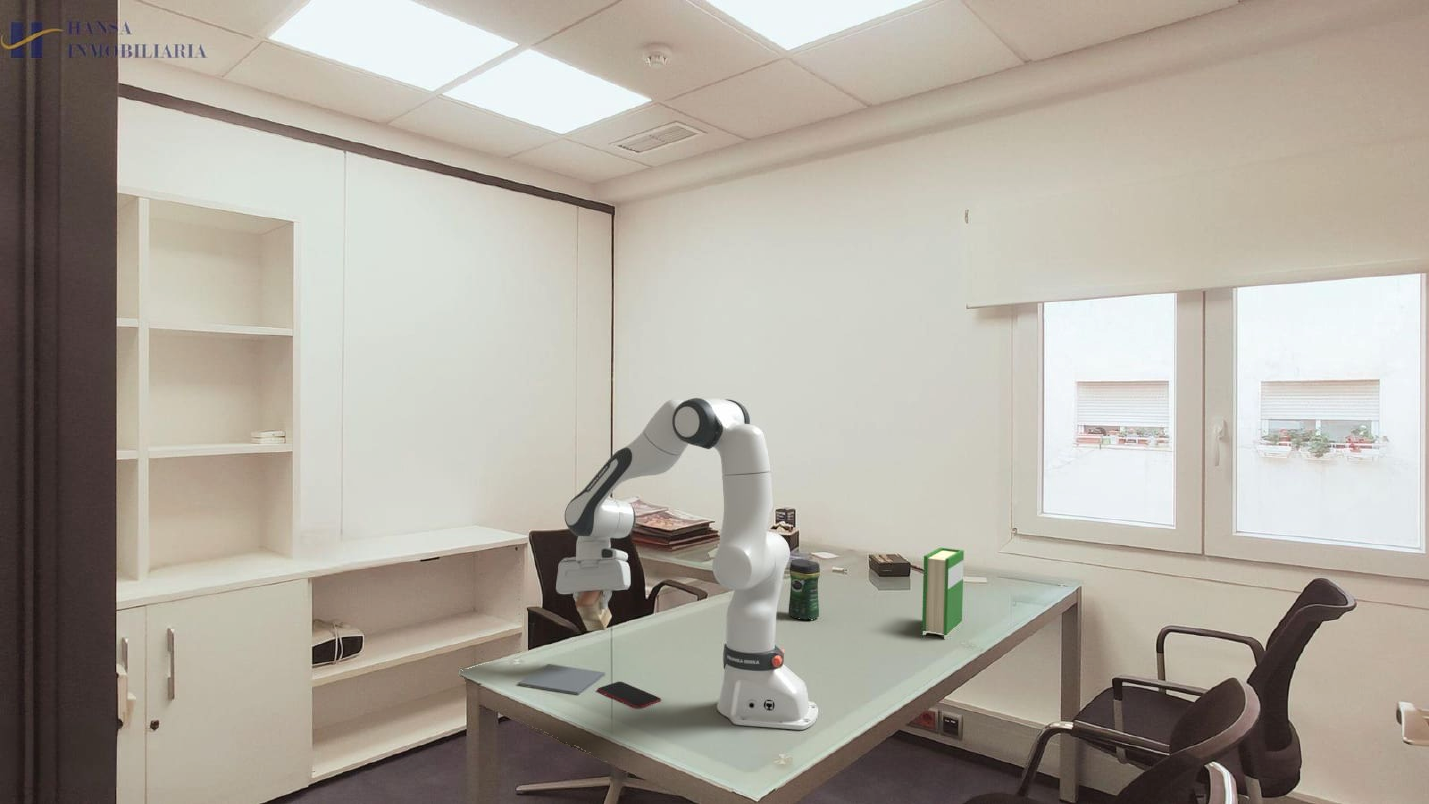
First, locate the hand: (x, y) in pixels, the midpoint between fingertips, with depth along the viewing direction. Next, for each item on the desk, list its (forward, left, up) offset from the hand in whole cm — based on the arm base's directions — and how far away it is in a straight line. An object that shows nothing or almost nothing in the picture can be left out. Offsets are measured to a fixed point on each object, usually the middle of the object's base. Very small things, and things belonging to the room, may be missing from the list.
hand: (592, 610), depth 191 cm
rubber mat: (+3, +9, -15) cm, 18 cm away
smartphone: (-16, +12, -16) cm, 25 cm away
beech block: (-1, -3, -4) cm, 5 cm away
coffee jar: (-41, -69, -15) cm, 82 cm away
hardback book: (-84, -72, -15) cm, 112 cm away
